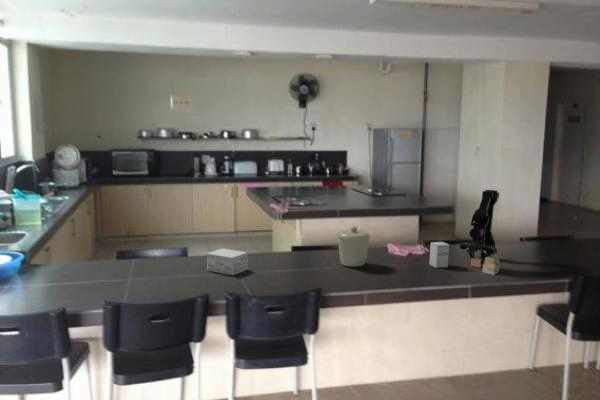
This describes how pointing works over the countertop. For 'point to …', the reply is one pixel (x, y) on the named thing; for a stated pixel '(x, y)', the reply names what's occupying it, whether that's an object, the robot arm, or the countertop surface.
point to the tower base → (490, 269)
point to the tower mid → (492, 261)
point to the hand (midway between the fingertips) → (477, 263)
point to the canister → (353, 247)
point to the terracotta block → (476, 262)
